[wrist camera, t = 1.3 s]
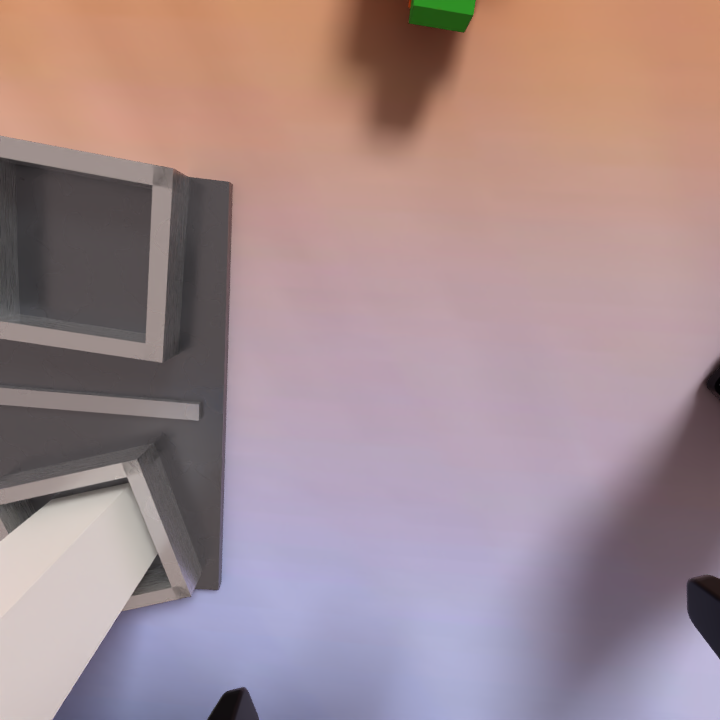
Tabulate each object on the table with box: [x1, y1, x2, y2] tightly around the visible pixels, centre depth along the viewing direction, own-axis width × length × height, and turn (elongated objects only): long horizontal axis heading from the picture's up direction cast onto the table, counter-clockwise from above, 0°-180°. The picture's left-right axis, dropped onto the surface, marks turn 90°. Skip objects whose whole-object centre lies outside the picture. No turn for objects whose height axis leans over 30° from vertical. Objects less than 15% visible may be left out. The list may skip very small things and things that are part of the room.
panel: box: [0, 164, 233, 590], centre depth 18 cm, size 20×11×1 cm, turn 174°
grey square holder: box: [0, 136, 190, 363], centre depth 16 cm, size 7×7×2 cm
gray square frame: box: [0, 443, 202, 611], centre depth 19 cm, size 7×7×2 cm
